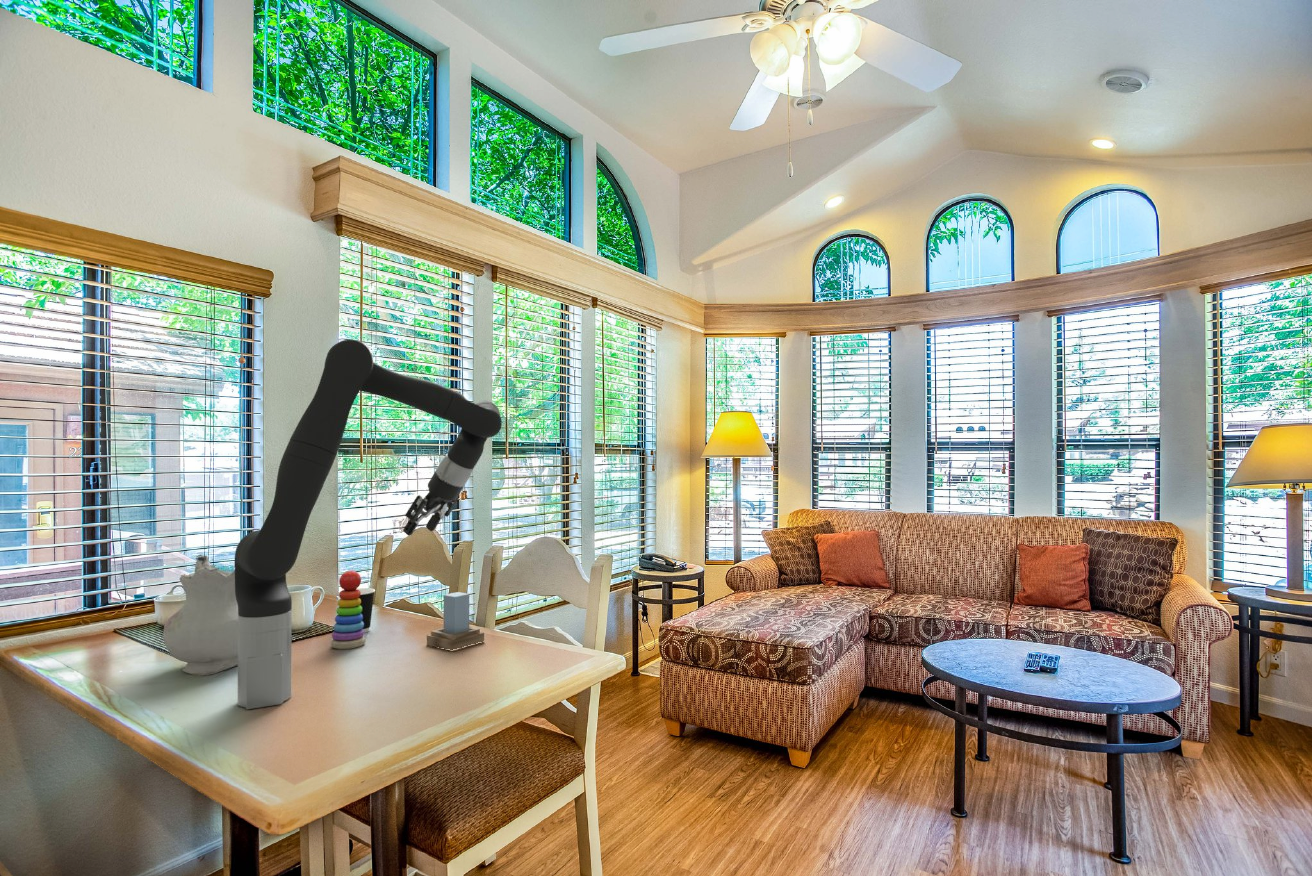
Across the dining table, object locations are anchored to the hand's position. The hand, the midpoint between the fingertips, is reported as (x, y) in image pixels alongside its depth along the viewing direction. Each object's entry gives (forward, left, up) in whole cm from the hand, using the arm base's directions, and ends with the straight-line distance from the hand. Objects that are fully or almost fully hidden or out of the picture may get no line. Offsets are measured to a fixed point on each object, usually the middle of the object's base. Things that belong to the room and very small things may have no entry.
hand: (418, 531), depth 167 cm
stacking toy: (+17, +14, -30) cm, 37 cm away
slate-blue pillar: (+5, -10, -27) cm, 29 cm away
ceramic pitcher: (+15, +43, -30) cm, 54 cm away
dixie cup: (+31, +10, -30) cm, 44 cm away
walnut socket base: (+5, -10, -30) cm, 32 cm away
